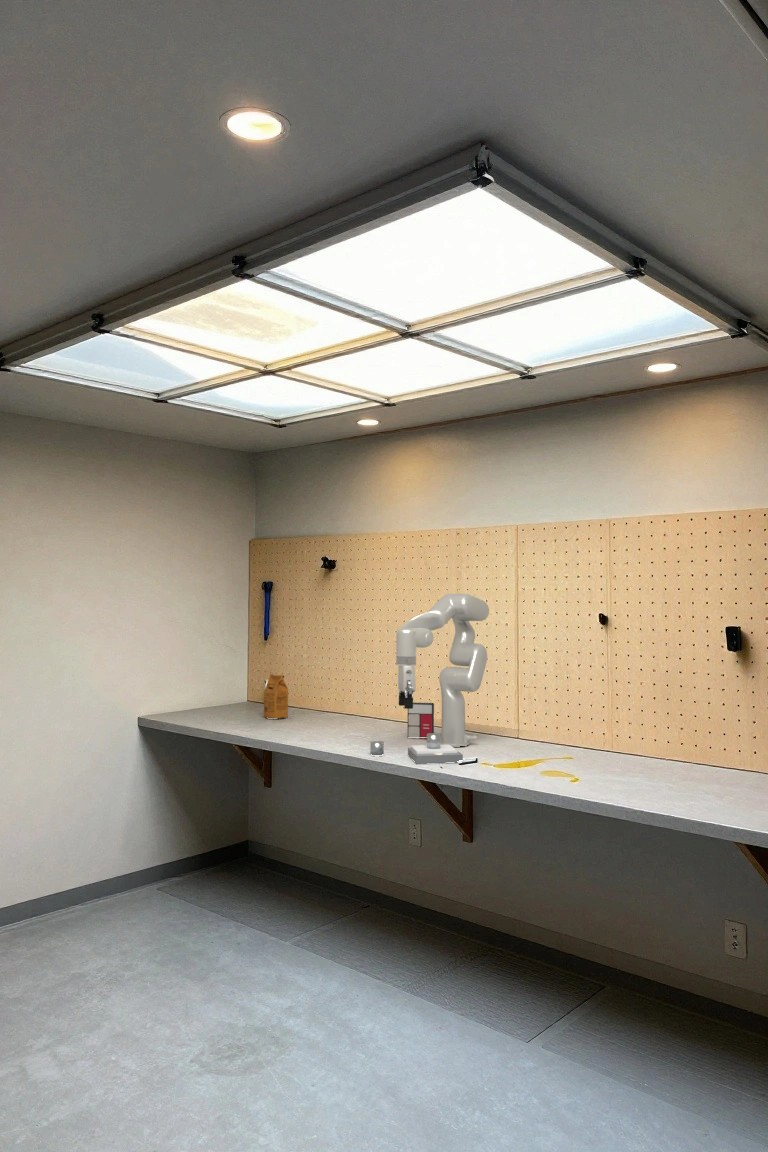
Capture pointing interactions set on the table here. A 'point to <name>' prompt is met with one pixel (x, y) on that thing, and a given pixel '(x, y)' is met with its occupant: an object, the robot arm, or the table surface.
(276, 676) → the coffee package
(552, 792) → the table surface
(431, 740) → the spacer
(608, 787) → the table surface
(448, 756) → the block
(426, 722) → the grey and red box
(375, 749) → the spacer
